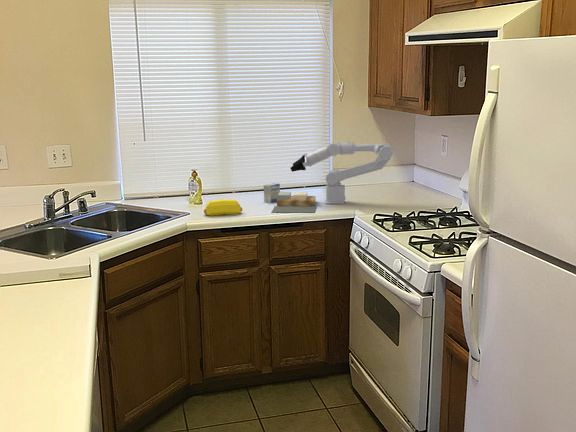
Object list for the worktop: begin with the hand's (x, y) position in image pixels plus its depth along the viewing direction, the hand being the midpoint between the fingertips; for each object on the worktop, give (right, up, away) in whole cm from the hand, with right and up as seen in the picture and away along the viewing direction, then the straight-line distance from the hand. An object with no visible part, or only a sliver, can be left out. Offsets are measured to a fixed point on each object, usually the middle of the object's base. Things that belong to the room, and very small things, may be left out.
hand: (292, 167), depth 320 cm
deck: (+2, -18, -3) cm, 18 cm away
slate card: (-4, -15, -2) cm, 16 cm away
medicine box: (-10, -16, +6) cm, 20 cm away
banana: (-32, -23, -22) cm, 45 cm away
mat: (+1, -21, -16) cm, 26 cm away
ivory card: (+4, -15, -3) cm, 16 cm away
